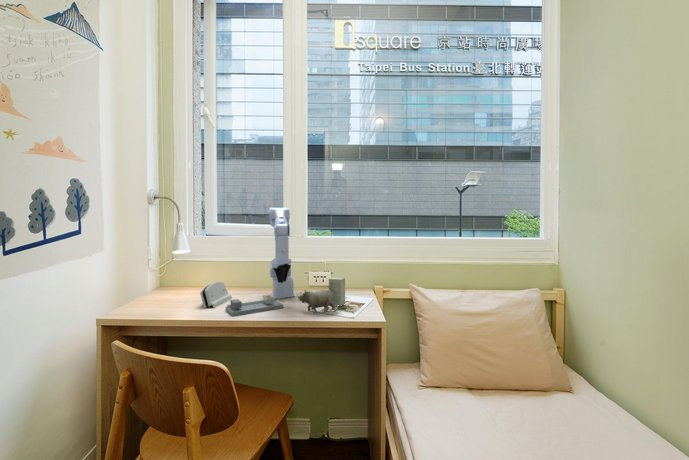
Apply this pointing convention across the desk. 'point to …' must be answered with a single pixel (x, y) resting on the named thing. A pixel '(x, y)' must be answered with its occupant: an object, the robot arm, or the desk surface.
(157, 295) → the desk surface
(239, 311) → the hole board
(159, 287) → the desk surface
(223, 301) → the grey upright panel
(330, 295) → the grey four-legged figurine
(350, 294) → the desk surface
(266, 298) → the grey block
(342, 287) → the skincare box
